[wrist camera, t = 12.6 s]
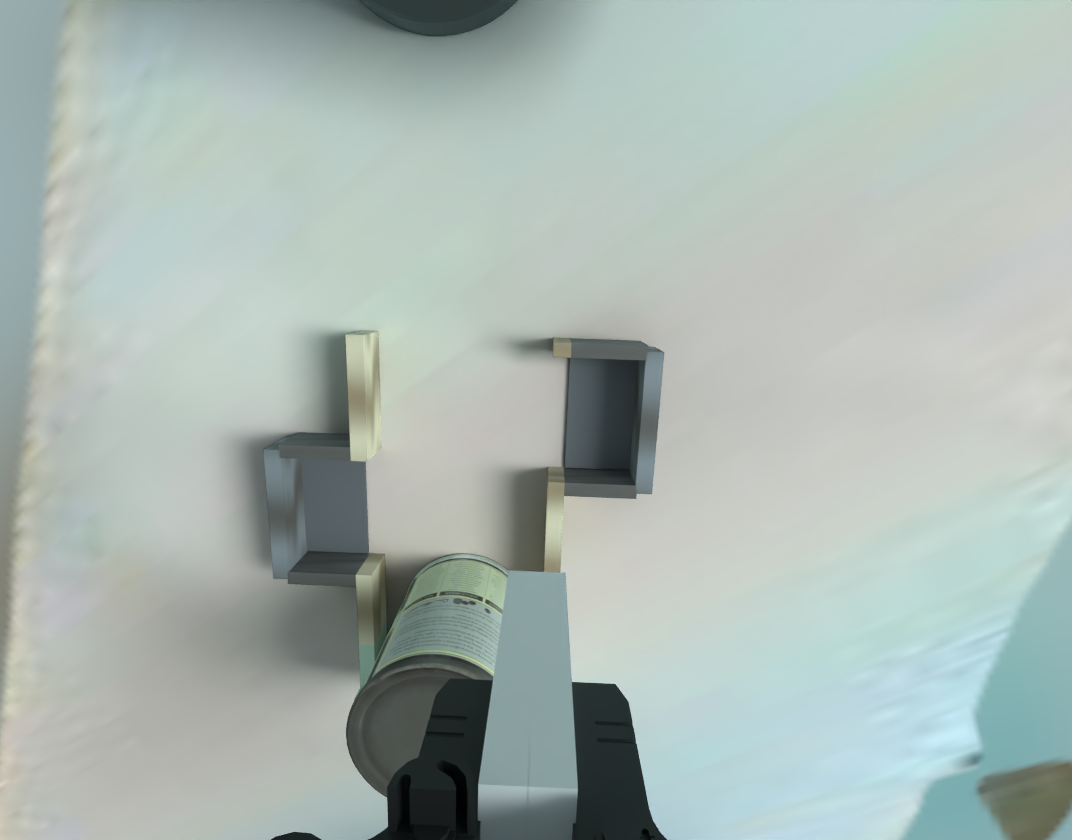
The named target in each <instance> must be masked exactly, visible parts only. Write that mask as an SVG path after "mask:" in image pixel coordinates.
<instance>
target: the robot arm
mask: <svg viewBox="0 0 1072 840" xmlns="http://www.w3.org/2000/svg"><path fill="white" fill-rule="evenodd" d="M360 1H361V2H362V3H363V4H364V5H365V6H366V7H368V8H369V9H370V10H371V11H372V12H374V13H375V14H376V15H378V16H379V17H381V18H382V19H384V20H386V21H387V22H389V23H391V24H393V25H395V26H397V27H400V28H402V29H405V30H408V31H411V32H415V33H419V34H425V35H436V36H442V35H454V34H460V33H464V32H468V31H471V30H474V29H477V28H479V27H481V26H484V25H486V24H488V23H489V22H491V21H493V20H495V19H496V18H498V17H499V16H500V15H502V14H503V13H504V12H506V11H507V10H508V9H509V8H510V7H511V6H512V5H514V4H515V3H516V2H517V0H360ZM387 801H388V827H387V828H386V829H385V830H384V831H382V832H381V833H379V834H378V835H376V836H374V837H373V838H371V839H368V840H667V839H666V838H665V837H664V836H663V835H662V834H661V833H660V832H659V830H658V828H657V827H656V825H655V823H654V822H653V820H652V817H651V813H650V810H649V806H648V801H647V796H646V791H645V786H644V780H643V775H642V770H641V765H640V759H639V754H638V749H637V744H636V739H635V733H634V728H633V726H632V718H631V713H630V707H629V702H628V701H627V699H626V698H625V697H624V695H623V694H622V693H621V691H620V690H619V688H618V687H617V686H616V684H602V683H580V682H572V679H571V661H570V644H569V627H568V610H567V593H566V575H565V573H558V572H534V571H511V570H509V572H508V579H507V586H506V593H505V600H504V607H503V614H502V621H501V628H500V635H499V642H498V649H497V656H496V663H495V670H494V677H493V680H477V679H455V678H450V679H449V680H448V681H447V682H446V684H445V685H444V686H443V687H442V688H441V689H440V691H439V692H438V693H437V694H436V696H435V699H434V703H433V706H432V710H431V714H430V719H429V721H428V724H427V728H426V732H425V736H424V739H423V742H422V746H421V749H420V753H419V757H418V758H415V759H413V760H411V761H408V762H407V763H406V764H405V765H403V766H402V767H401V768H400V769H399V770H398V771H397V772H395V774H394V775H393V777H392V779H391V781H390V783H389V784H388V786H387ZM271 840H321V839H319V838H318V837H316V836H314V835H313V834H311V833H300V832H292V833H288V834H285V835H281V836H277V837H274V838H273V839H271Z"/></svg>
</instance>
